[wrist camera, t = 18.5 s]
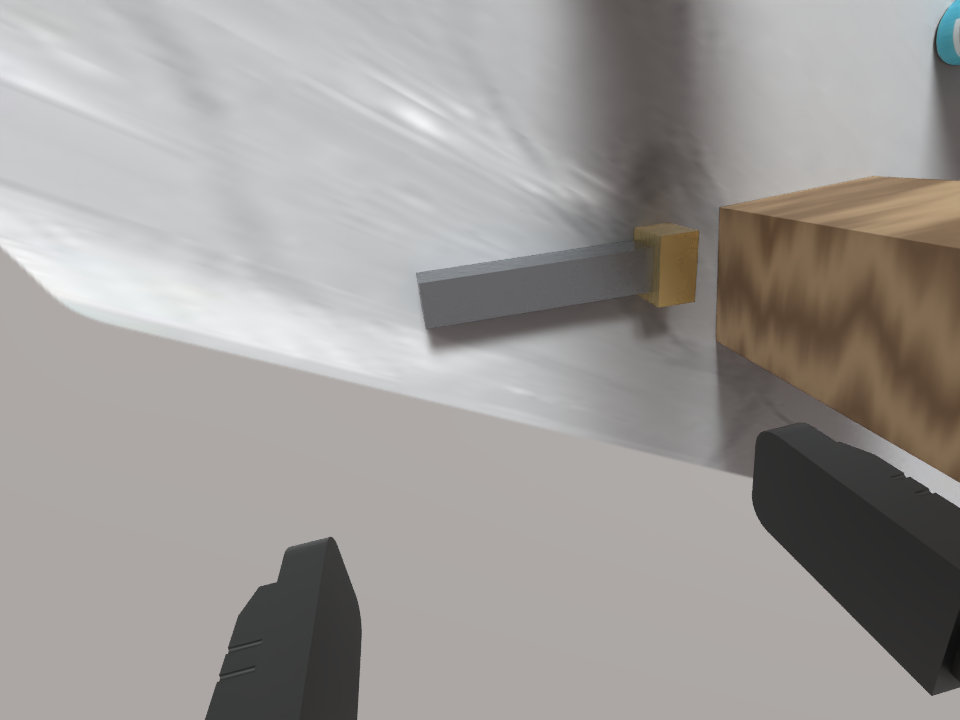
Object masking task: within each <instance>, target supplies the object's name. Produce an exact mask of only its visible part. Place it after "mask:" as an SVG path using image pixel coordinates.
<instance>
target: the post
mask: <svg viewBox="0 0 960 720" xmlns="http://www.w3.org/2000/svg"><path fill="white" fill-rule="evenodd" d="M716 341H717V342H719V343H720V344H722V345H724V346H726V347H727V348H729V349H731V350H733V351H734V352H736V353H738V354H739V355H741V356H743V357H745V358H746V359H748V360H750V361H751V362H753V363H755V364H757V365H758V366H760V367H762V368H764V369H765V370H767V371H769V372H770V373H772V374H774V375H776V376H777V377H779V378H781V379H782V380H784V381H786V382H788V383H789V384H791V385H793V386H794V387H796V388H798V389H800V390H801V391H803V392H805V393H807V394H808V395H810V396H812V397H813V398H815V399H817V400H819V401H820V402H822V403H824V404H825V405H827V406H829V407H831V408H832V409H834V410H836V411H837V412H839V413H841V414H843V415H844V416H846V417H848V418H850V419H851V420H853V421H855V422H856V423H858V424H860V425H862V426H863V427H865V428H867V429H868V430H870V431H872V432H874V433H875V434H877V435H879V436H880V437H882V438H884V439H886V440H887V441H889V442H891V443H893V444H894V445H896V446H898V447H899V448H901V449H903V450H905V451H906V452H908V453H910V454H911V455H913V456H915V457H917V458H918V459H920V460H922V461H924V462H925V463H927V464H929V465H930V466H932V467H934V468H936V469H937V470H939V471H941V472H942V473H944V474H946V475H948V476H949V477H951V478H953V479H954V480H956V481H958V482H960V181H953V180H935V179H916V178H897V177H879V176H872V177H867V178H862V179H857V180H852V181H847V182H843V183H838V184H833V185H828V186H823V187H818V188H813V189H808V190H803V191H798V192H793V193H788V194H783V195H778V196H773V197H768V198H763V199H759V200H754V201H749V202H744V203H739V204H734V205H729V206H724V207H720V218H719V252H718V286H717V321H716Z"/></svg>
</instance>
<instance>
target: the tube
mask: <svg viewBox="0 0 960 720" xmlns="http://www.w3.org/2000/svg"><path fill="white" fill-rule="evenodd" d="M936 44H937V52H938V55H939V56H940V58H941V59H942V60H943V61H944V62H946V63H947V64H950V65H960V0H956V1H954V2H953V3H952V4H951V5H950V6H949V8H948V9H947V11H946V12H945V14H944V16H943V17H942V19H941V21H940V24H939V26H938V31H937V39H936Z"/></svg>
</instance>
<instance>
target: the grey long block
mask: <svg viewBox="0 0 960 720" xmlns="http://www.w3.org/2000/svg"><path fill="white" fill-rule="evenodd" d="M698 242H699V230H695V229H691V228H687V227H684V226H680V225H676V224H672V223H663V224H656V225H649V226H642V227H635V228H634V240H631V241H625V242H618V243H611V244H605V245H598V246H591V247H585V248H578V249H571V250H565V251H558V252H552V253H545V254H538V255H532V256H525V257H518V258H512V259H505V260H499V261H492V262H485V263H479V264H472V265H465V266H459V267H452V268H445V269H439V270H432V271H426V272H419V273H416V276H417V282H418V288H419V294H420V300H421V306H422V312H423V317H424V322H425V327H426V329H429V328H435V327H442V326H448V325H454V324H460V323H466V322H472V321H478V320H484V319H491V318H497V317H503V316H509V315H515V314H521V313H527V312H533V311H540V310H546V309H552V308H558V307H564V306H570V305H576V304H582V303H589V302H595V301H601V300H607V299H613V298H619V297H625V296H631V295H638V296H640V297H641V298H643V299H645V300H646V301H648V302H650V303H652V304H653V305H655V306H657V307H658V308H660V307H666V306H672V305H678V304H684V303H690V302H695V291H696V275H697V258H698Z"/></svg>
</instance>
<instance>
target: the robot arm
mask: <svg viewBox="0 0 960 720" xmlns="http://www.w3.org/2000/svg"><path fill="white" fill-rule="evenodd" d="M752 501H753V506H754V509H755V512H756V515H757V517H758V519H759V520H760V522H761V524H762V525H763V526H764V527H765V529H766V530H767V531H768V532H769V533H770V534H771V535H772V536H773V537H774V538H775V539H776V540H777V541H778V542H779V543H780V544H781V545H782V546H783V547H784V548H785V549H786V550H787V551H788V552H789V553H790V554H791V555H792V556H793V557H794V558H795V559H796V560H797V561H798V562H799V563H800V564H801V565H802V566H803V567H804V568H805V569H806V570H807V571H808V572H809V573H810V574H811V575H812V576H813V577H814V578H815V579H816V580H817V581H818V582H819V583H820V584H821V585H822V586H823V587H824V588H825V589H826V590H827V591H828V592H829V593H830V594H831V595H832V596H833V597H834V598H835V599H836V600H837V601H838V602H839V603H840V604H841V605H842V606H843V607H844V608H845V609H846V611H847V612H848V613H850V615H852V617H853V618H854V619H855V620H856V621H858V623H859V624H860V625H861V626H862V627H863V628H864V629H865V630H866V631H868V632H869V634H870V635H871V636H873V637H874V639H875V640H876V641H878V643H879V644H880V645H881V646H882V647H883V648H884V649H885V650H886V651H887V652H888V653H889V654H890V655H891V656H892V657H893V658H895V660H896V661H897V662H898V663H899V664H900V665H901V666H902V667H903V668H904V669H905V670H906V671H907V672H908V673H909V674H910V675H911V676H912V677H913V678H914V679H915V680H916V681H917V682H918V683H919V684H920V685H921V686H922V687H923V688H924V689H925V690H926V691H927V692H928V693H929V694H930V695H931V696H933V695H936V694H940V693H943V692H946V691H949V690H952V689H956V688H959V687H960V508H959V507H957V506H956V505H954V504H953V503H951V502H949V501H948V500H946V499H945V498H943V497H941V496H940V495H938V494H937V493H933V494H932V493H931V492H930V491H929V488H927V487H925V486H924V485H922V484H921V483H919V482H917V481H916V480H914V479H913V478H911V477H908V478H906V477H905V475H904V473H903V472H902V471H900V470H898V469H897V468H895V467H894V466H892V465H890V464H889V463H887V462H886V461H884V460H882V459H881V458H879V457H878V456H876V455H874V454H871V453H869V452H866V451H863V450H860V449H858V448H855V447H852V446H850V445H847V444H844V443H841V442H838V443H837V442H835V441H834V440H832V439H831V438H829V437H828V436H826V435H825V434H823V433H822V432H820V431H818V430H817V429H815V428H814V427H812V426H810V425H809V424H806V423H796V424H792V425H788V426H784V427H780V428H776V429H772V430H768V431H764V432H761V433H760V434H759V435H758V437H757V440H756V447H755V461H754V475H753V490H752ZM361 635H362V630H361V617H360V611H359V605H358V601H357V598H356V595H355V592H354V590H353V587H352V584H351V581H350V579H349V576H348V573H347V570H346V568H345V565H344V563H343V559H342V557H341V554H340V551H339V549H338V546H337V544H336V542H335V540H334V539H333V538H332V537H328V538H324V539H320V540H316V541H312V542H308V543H304V544H300V545H296V546H292V547H289V548H287V550H286V551H285V554H284V557H283V561H282V565H281V569H280V573H279V577H278V581H277V582H276V583H272V584H269V585H264V586H260V587H259V588H258V589H257V591H256V592H255V593H254V595H253V596H252V598H251V599H250V600H249V602H248V603H247V605H246V606H245V607H244V609H243V610H242V612H241V613H240V614H239V616H238V618H237V622H236V625H235V628H234V631H233V634H232V637H231V640H230V644H229V646H228V649H229V653H228V654H226V656H225V659H224V662H223V665H222V668H221V672H220V674H219V676H220V681H219V682H217V684H216V687H215V690H214V693H213V696H212V699H211V703H210V706H209V709H208V712H207V715H206V718H205V720H357V712H358V711H357V710H358V693H359V675H360V656H361V637H362V636H361Z"/></svg>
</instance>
